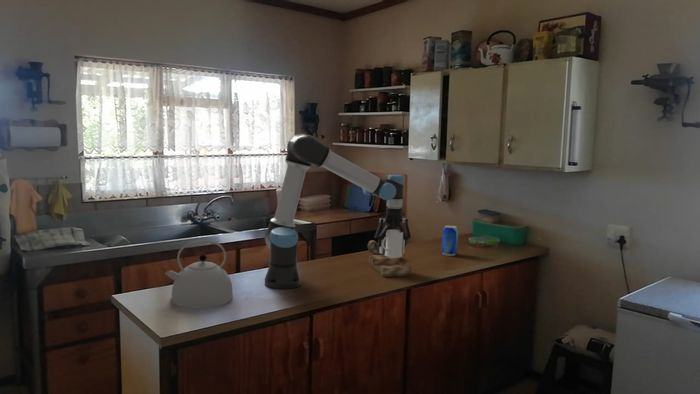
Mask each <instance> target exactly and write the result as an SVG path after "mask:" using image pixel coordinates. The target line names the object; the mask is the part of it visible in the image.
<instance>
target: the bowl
mask: <svg viewBox="0 0 700 394" xmlns="http://www.w3.org/2000/svg"><path fill="white" fill-rule="evenodd" d="M384 247H385V248H386V243H384ZM367 250H368V251H369V253H371V254H372V256H379V255H385V250H384V248H383V254H381V253H379V250H380V247H379V246H378V241H375V240H374V239H373V240H372V239H371V240H370V241H368V243H367Z"/></svg>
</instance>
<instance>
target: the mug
mask: <svg viewBox="0 0 700 394" xmlns="http://www.w3.org/2000/svg"><path fill="white" fill-rule="evenodd" d="M382 240H383V248H384V250H385V256H387V257H392V258H399V259H400V258H402V257H403V253H402V245H403V232H402V233H400V231H399V229H388V230H387V232H386V234H385V235H384V237H383V238H382ZM384 244H386V248H385V247H384Z"/></svg>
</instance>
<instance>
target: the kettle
mask: <svg viewBox="0 0 700 394" xmlns="http://www.w3.org/2000/svg"><path fill="white" fill-rule="evenodd" d="M208 243H209V244H213V245H216V246H218V247H220V249H221V250H222V252H223V261H222V262H221V264H220V265H218V264H216V263H214V262H211V261H206V260H207V255H206V254H200V255H199V258H198V259H199V261H197V262H196V261H195V262H193V263H191V264H189V265H187V266H186V267H183V266H182V264H181V260H180V256H181V253H182V251H183V250H184V249H185V248H187V247H188V246H191V245H195V244H196V245H197V244H208ZM176 257H177V258H176V259H177V260H176V261H177V265H178V266H179V268H180V271H179V272H176V271H174V270H172V269H171V270H167V271H166V272H165V273H164V275H166V276H167V277H168V278H170V279H171V280H173V283H172V288H171V302H172V303H173V304H174V305H177V306H180V307H184V308H191V309H203V308H213V307H218V306H222V305H224V304H228V303H229V302H231V300H232V299H233V284H232V283H233V282H232V281H231V278H230V275H229V274H228V272H227V271H226V270H225V269H223V266H224V265H225V263H226V261H227V253H226V250H225V248H224V246H223V245H222V244H220V243H218V242H216V241H214V240H195V241H191V242H188V243H186V244H185V245H183V246H182V247H180V249H179V250H178V252H177V256H176Z"/></svg>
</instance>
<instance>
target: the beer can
mask: <svg viewBox="0 0 700 394" xmlns="http://www.w3.org/2000/svg"><path fill="white" fill-rule="evenodd" d="M458 239H459V230H458V227H457V226H456V225H450V224H448V225H444V228H443V230H442V239H441V249H440V250H441V254H442V255H443V256H447V257H455V256H456V254H457V253H458V242H459V241H458Z"/></svg>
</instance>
